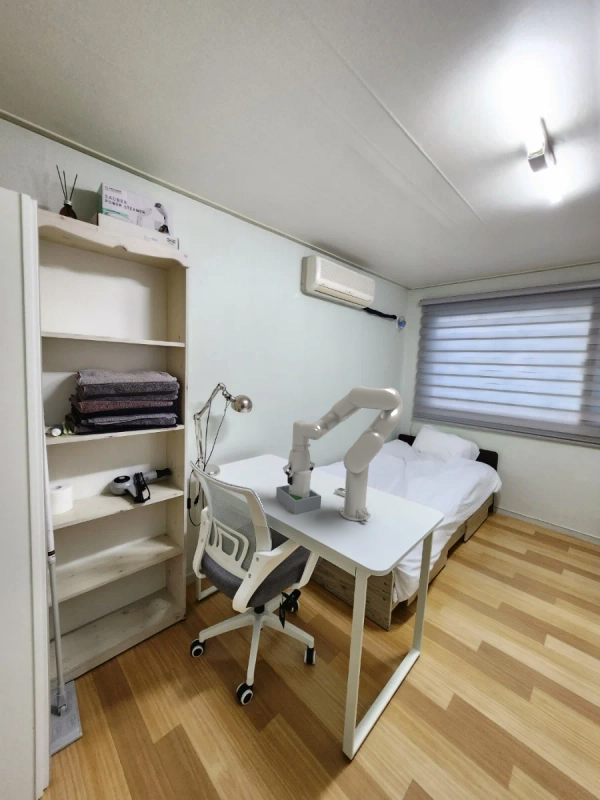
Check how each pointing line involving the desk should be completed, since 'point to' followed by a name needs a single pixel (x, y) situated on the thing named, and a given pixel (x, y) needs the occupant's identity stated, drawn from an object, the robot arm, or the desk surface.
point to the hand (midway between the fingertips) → (298, 482)
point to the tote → (301, 504)
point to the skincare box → (300, 485)
